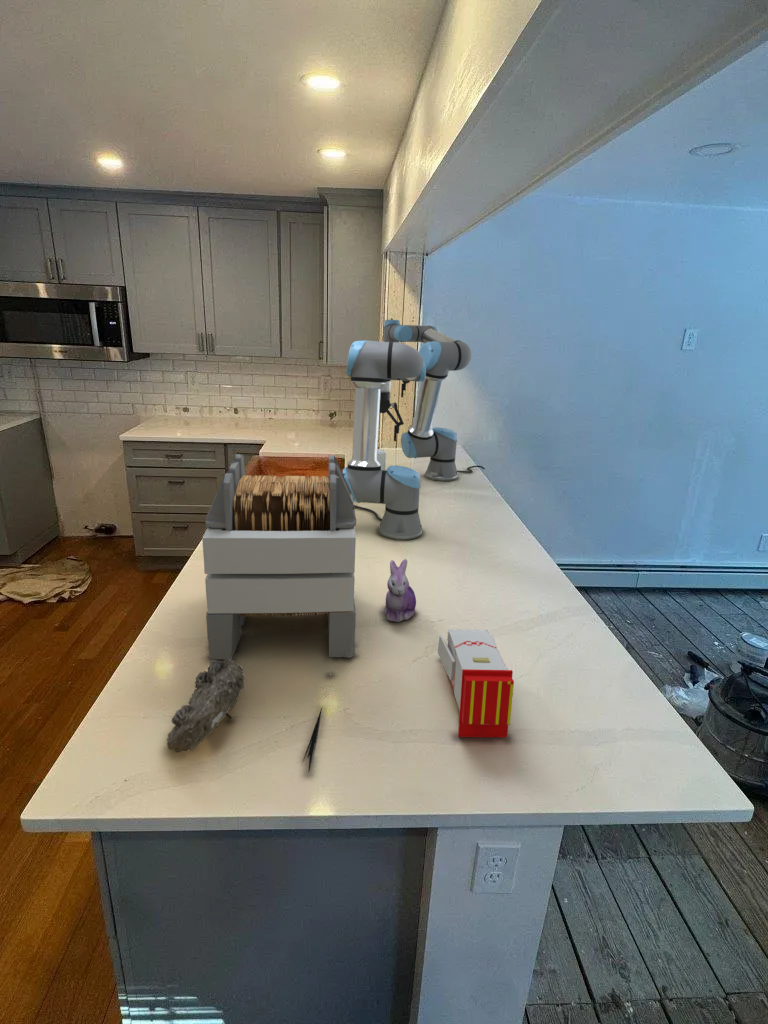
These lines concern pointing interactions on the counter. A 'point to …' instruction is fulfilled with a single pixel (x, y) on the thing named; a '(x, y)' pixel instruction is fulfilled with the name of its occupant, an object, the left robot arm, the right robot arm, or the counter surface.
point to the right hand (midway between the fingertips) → (388, 396)
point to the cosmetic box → (381, 458)
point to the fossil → (206, 705)
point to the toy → (478, 682)
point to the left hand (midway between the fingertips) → (379, 440)
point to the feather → (313, 740)
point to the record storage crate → (280, 554)
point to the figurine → (399, 594)
